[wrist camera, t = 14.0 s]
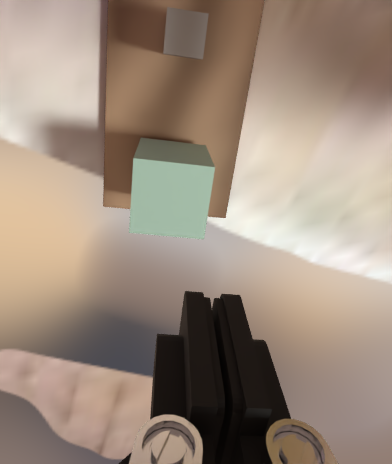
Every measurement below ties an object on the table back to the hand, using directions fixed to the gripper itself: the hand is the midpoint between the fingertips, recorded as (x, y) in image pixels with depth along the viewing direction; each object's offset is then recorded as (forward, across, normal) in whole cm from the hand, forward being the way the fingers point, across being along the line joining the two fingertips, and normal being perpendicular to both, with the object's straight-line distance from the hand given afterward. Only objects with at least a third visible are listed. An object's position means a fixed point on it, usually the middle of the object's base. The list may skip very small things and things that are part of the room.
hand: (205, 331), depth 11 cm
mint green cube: (+20, +1, +1) cm, 21 cm away
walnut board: (+22, +1, -4) cm, 22 cm away
